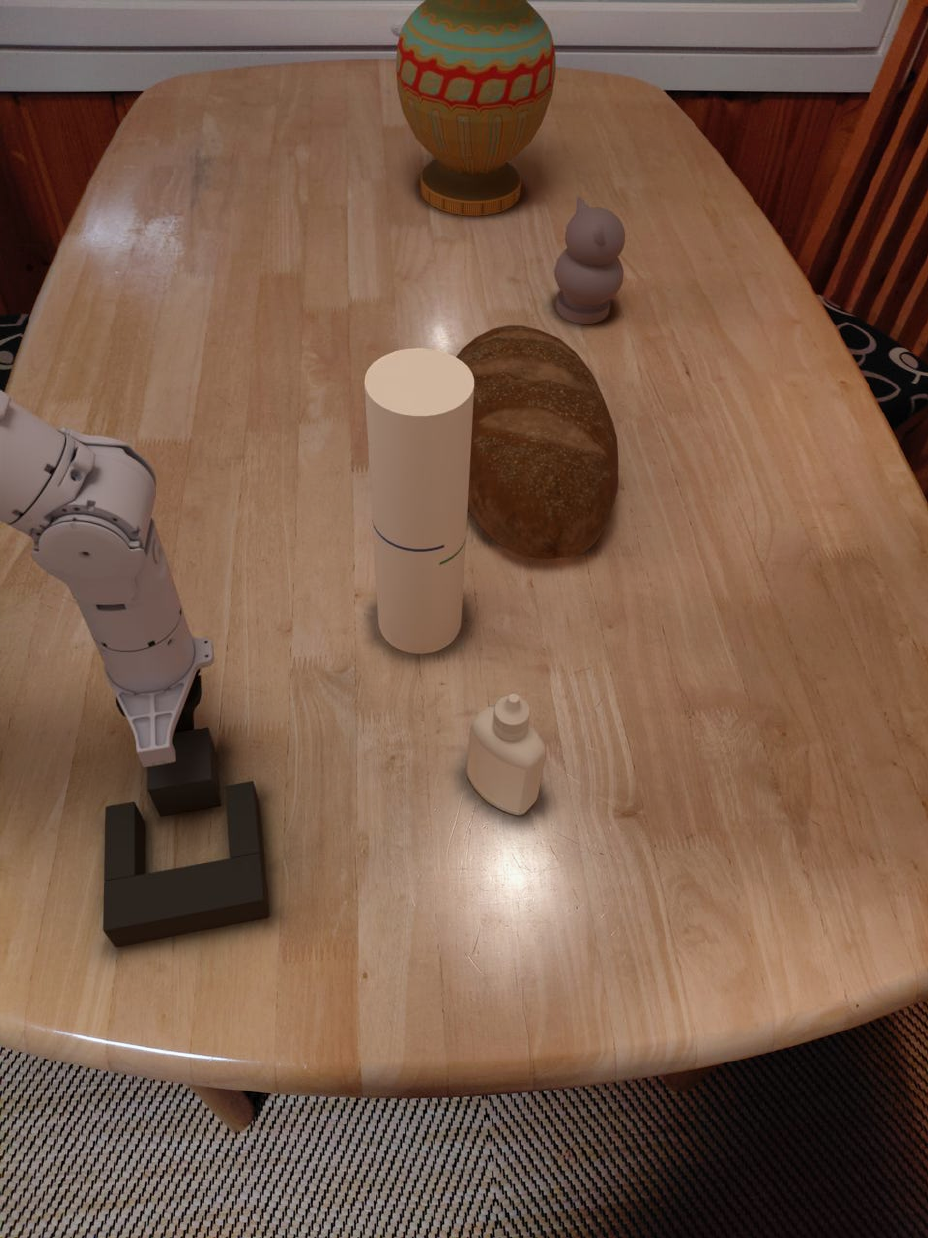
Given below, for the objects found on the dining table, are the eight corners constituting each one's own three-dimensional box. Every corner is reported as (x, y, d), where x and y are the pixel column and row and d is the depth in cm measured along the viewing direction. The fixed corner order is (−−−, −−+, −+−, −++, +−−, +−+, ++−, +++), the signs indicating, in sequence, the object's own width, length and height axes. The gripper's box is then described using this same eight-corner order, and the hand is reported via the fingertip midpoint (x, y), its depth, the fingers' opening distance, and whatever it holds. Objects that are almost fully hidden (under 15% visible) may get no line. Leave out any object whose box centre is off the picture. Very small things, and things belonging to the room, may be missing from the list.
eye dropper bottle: (487, 828, 68) (498, 742, 59) (461, 764, 71) (467, 673, 62) (542, 810, 69) (561, 723, 60) (514, 748, 72) (528, 656, 63)
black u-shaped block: (114, 947, 62) (102, 931, 59) (116, 825, 67) (105, 806, 65) (269, 917, 63) (264, 899, 61) (258, 800, 69) (253, 780, 67)
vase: (546, 163, 134) (572, -93, 110) (538, 234, 121) (566, -37, 98) (409, 151, 134) (406, -105, 111) (387, 220, 122) (379, -52, 99)
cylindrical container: (369, 598, 81) (353, 357, 62) (447, 581, 83) (455, 341, 63) (390, 662, 77) (379, 424, 58) (472, 643, 79) (488, 405, 59)
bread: (469, 578, 83) (475, 484, 74) (427, 377, 101) (428, 282, 92) (637, 563, 85) (662, 469, 76) (567, 368, 103) (581, 275, 94)
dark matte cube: (159, 816, 68) (146, 790, 65) (158, 764, 70) (146, 736, 67) (220, 805, 68) (211, 779, 65) (217, 754, 71) (208, 726, 68)
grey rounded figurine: (627, 324, 109) (647, 227, 100) (564, 333, 107) (578, 235, 98) (600, 285, 114) (617, 188, 105) (540, 293, 112) (551, 196, 103)
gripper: (206, 699, 55) (240, 807, 66) (195, 526, 64) (227, 646, 74) (81, 719, 54) (137, 825, 64) (88, 540, 63) (136, 659, 73)
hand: (179, 730), depth 69 cm, fingers closed
